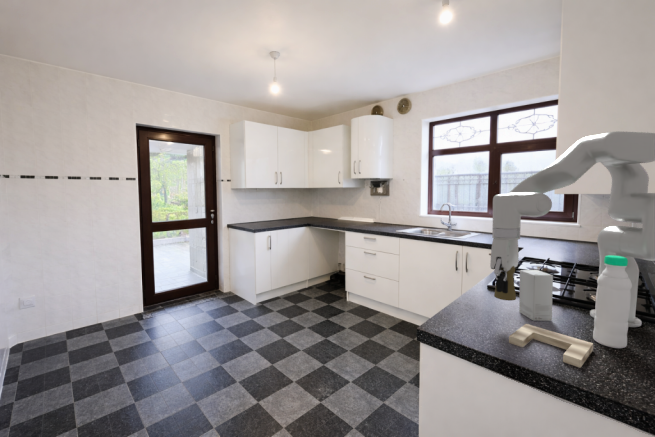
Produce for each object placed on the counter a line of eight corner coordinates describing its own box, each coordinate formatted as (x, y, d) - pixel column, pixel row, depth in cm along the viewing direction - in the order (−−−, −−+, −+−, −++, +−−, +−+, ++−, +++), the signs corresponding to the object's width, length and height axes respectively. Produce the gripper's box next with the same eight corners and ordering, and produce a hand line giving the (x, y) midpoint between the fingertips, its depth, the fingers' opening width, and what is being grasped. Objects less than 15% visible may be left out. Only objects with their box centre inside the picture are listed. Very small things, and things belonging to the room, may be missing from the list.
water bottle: (630, 352, 81) (638, 260, 79) (595, 345, 85) (602, 257, 83) (622, 341, 87) (629, 255, 85) (590, 335, 91) (596, 252, 89)
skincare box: (552, 321, 100) (555, 275, 99) (531, 321, 101) (534, 275, 99) (535, 311, 109) (538, 269, 107) (517, 311, 109) (519, 269, 108)
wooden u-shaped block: (525, 329, 94) (525, 323, 94) (592, 350, 82) (593, 343, 82) (508, 342, 86) (509, 336, 86) (580, 367, 74) (581, 360, 74)
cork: (519, 300, 93) (520, 265, 92) (497, 300, 94) (498, 265, 93) (511, 294, 99) (512, 261, 98) (491, 293, 100) (491, 260, 99)
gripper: (504, 229, 103) (503, 282, 104) (481, 235, 92) (480, 293, 94) (529, 231, 97) (528, 287, 99) (508, 237, 86) (507, 300, 88)
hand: (505, 289), depth 96 cm, fingers closed on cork, 4 cm apart
